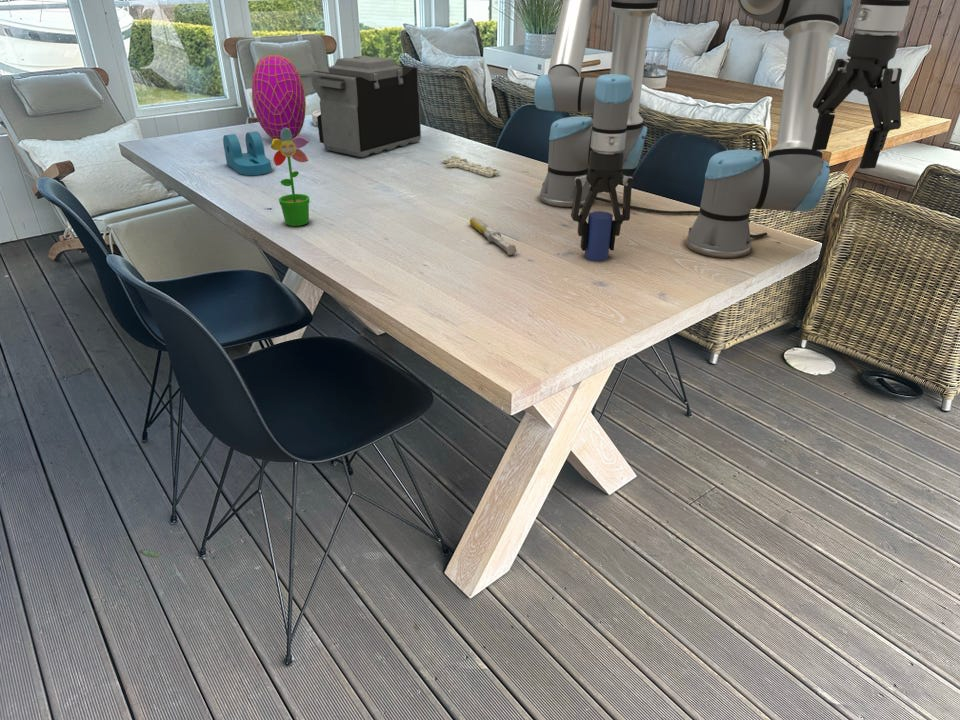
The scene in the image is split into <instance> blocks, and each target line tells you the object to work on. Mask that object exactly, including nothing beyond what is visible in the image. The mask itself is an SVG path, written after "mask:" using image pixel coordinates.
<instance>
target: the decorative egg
mask: <svg viewBox="0 0 960 720" xmlns="http://www.w3.org/2000/svg"><path fill="white" fill-rule="evenodd" d="M253 70H254V71H253V73H252V77H251V101H252V107H253V110H254V114H255V116H256V118H257V121H258V123H259V125H260V127H261V128H262V130H263V131H264V133H266V135H267V136H268V137H270V138H271V139H272V140H273V139H279V140H281V136H280V134H281V131H282V130H283V129H284V128H288V129H289V130H290V131H291V134H292V139H293V138H295V137H298V136H299V134H301V131H302V129H303V127H304V123H305V118H306V104H307V103H306V102H307V101H306V99H307V97H306V93H305V88H304V84H303V81H302V77H301V75H300V73H299V71H298V69H297V67H296V66H295V65H294V63H293V62H292V61H291V60H290V59H288V58H287V57H285V56H282V55H280V54H268V55H265V56H262V57H261V58H260V59H259V60H258V61H257V62H256V65H255V68H254V69H253ZM281 141H282V140H281Z"/></svg>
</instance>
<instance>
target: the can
mask: <svg viewBox="0 0 960 720" xmlns="http://www.w3.org/2000/svg"><path fill="white" fill-rule="evenodd" d="M613 218H614V214H612V213H610V212H608V211H603V210H595V211H594V210H593V211H590V212H589V214H588V216H587V223H588V231H587V242H586V251H584V258H585V259H587V260H588V261H592V262H604V261H607V260H608V259H609V254H610V253H609V252H610V248H609V245H610V237H611V228H612V220H614V219H613Z"/></svg>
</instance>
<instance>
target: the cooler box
mask: <svg viewBox="0 0 960 720" xmlns="http://www.w3.org/2000/svg"><path fill="white" fill-rule="evenodd" d="M310 79H311V87H313V90H314V91H315V93H316V94H317V96H318V98H319V110H320V111H321V115H319V116H318V117H317V120H318V126H317V128H318V138H319V143H320V144H323V146H324V149H325V150H327V151H330V152H335V153H340V154H344V155H348V156H353V157H357V158H362V159H363V158H366V157H367V158H368V157H369V155H371V154H375V155H377V154H381V153H382V152H383V151H391V150H395V149H396V148H397V147H405V146H407V145H408V144H416V143H418V142H419V141H421V137H422V128H421V97H420V92H419V91H420V89H419V68H418V67H417V66H408V65H400V64H396V62H395V60H394V59H393V58H385V57H377V56H367V55H356V56H353V57H350V58H349V57H343V58H342V57H341V58H337V59H336V60H335V63H334V64H333V65H330V66H329V67H328V72H327V71H320V70H314V71H313V70H312V71H310Z"/></svg>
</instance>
